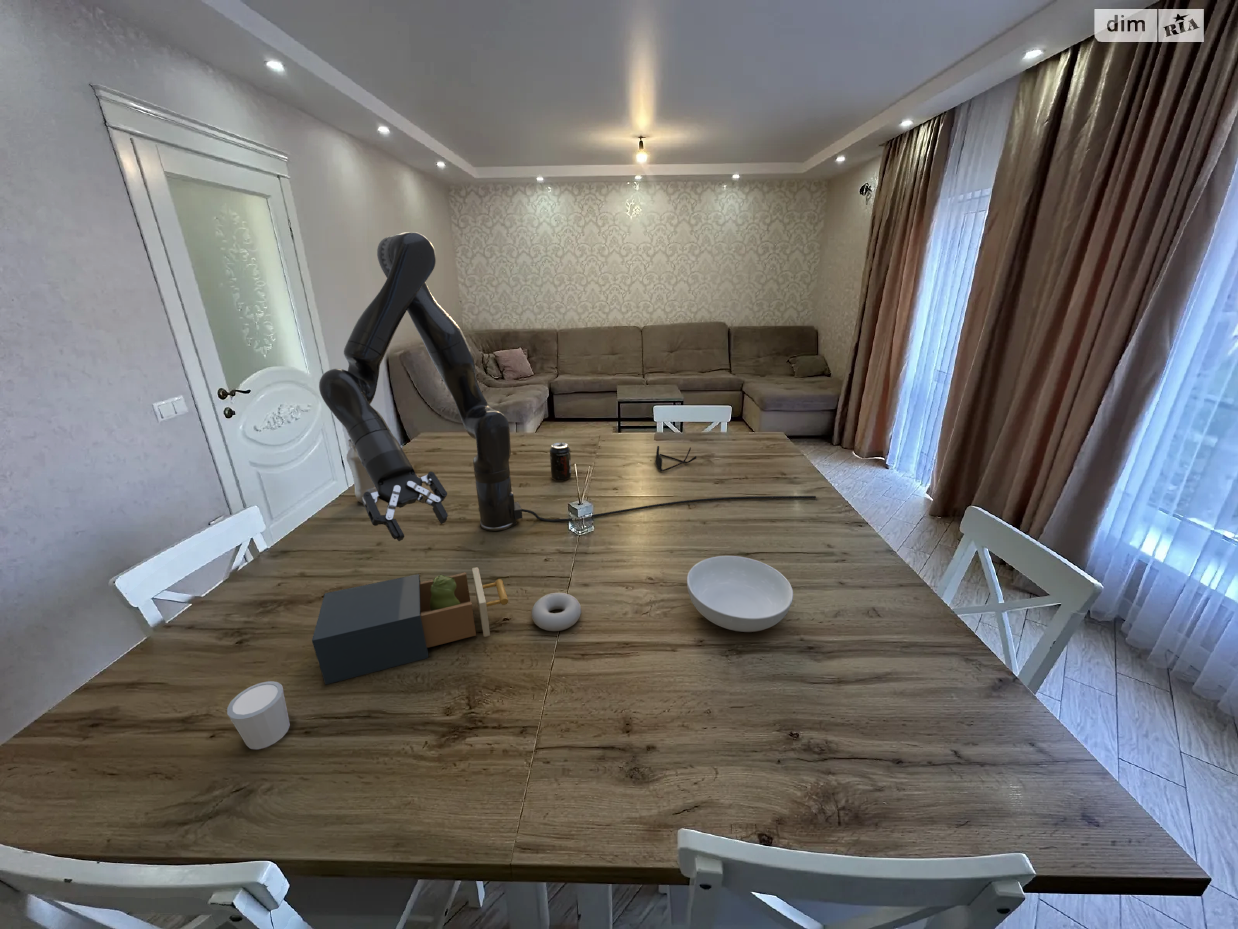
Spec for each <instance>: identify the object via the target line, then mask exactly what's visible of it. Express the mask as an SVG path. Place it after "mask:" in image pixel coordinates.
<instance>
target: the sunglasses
mask: <svg viewBox="0 0 1238 929" xmlns="http://www.w3.org/2000/svg"><path fill="white" fill-rule="evenodd" d="M691 449H692V448H691V446H690V447H689V449H688V450H687V454H686V456H685V458H684V459H683V460H682V459H680V458H679V459H678V458H676V457H673V456H669V455H666V454H662V453H660V445H657V447H656V452H655V453H656V454H655V462H654V463H655V465H656V468H657V469H658V471H659V472H666V471H669V470H671V469H673V468H676V467H678V466H680V465H682V464H689V463H691V462H693V461H695V460H696V459H697V455H695V456H694V457H692V458H691V459H689V460H688V461H687V459H688V457H689V455H690V452H691ZM662 457H664V458H668V459H671V460H674V461H677V462H679V463H677V464H674V465H671V466H668V467H666V468H664V469H663V468H662V467H663V458H662Z"/></svg>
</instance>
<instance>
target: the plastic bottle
mask: <svg viewBox="0 0 1238 929" xmlns="http://www.w3.org/2000/svg"><path fill="white" fill-rule="evenodd" d="M347 443H348V447H349V450H348V451H347V453H346V457H345V459H346V461H347V464H348V466H349V469H350V472H351V475H352V478H353V484H354V485H353V486H354V497H355V499H356V501H358V502H359V503H361V504H363V503H362V498H363V495H364V493H365V492H370V493H373V492H377V489H376V487H375V486H374V484H373V482H372V480H371V478H370V477H369V475H368V473H367V471H366V469H365V467H364V466H363V465H362V463H361V460H360V458H359V456H358V453H357V450H356V448H355V446H354V444H353V442H352V440H351V439H350V438H349V439H348V440H347ZM378 499H379V498H377V500H378Z"/></svg>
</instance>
